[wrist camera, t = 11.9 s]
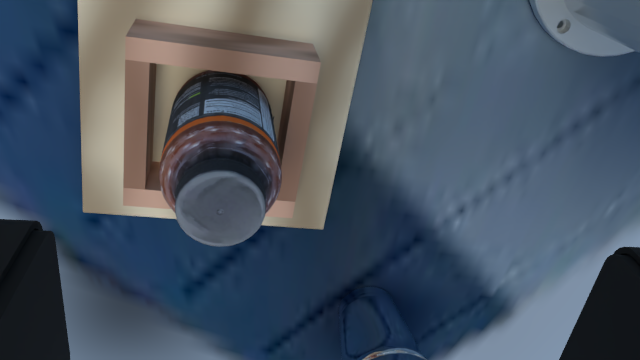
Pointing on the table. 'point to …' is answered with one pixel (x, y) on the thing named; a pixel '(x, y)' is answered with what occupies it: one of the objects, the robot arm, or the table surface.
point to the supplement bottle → (220, 158)
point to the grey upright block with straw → (374, 328)
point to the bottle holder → (225, 56)
